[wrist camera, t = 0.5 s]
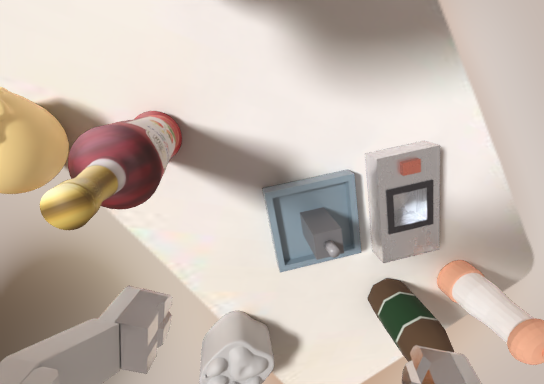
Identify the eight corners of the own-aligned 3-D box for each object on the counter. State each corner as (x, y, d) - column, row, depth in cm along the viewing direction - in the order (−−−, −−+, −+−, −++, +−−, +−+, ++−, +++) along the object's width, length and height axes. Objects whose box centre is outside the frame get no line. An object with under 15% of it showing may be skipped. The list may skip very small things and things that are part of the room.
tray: (262, 188, 49) (264, 193, 47) (348, 169, 50) (354, 173, 48) (277, 264, 54) (280, 272, 52) (355, 245, 55) (361, 252, 53)
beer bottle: (366, 314, 61) (451, 450, 38) (366, 280, 58) (458, 404, 36) (404, 307, 61) (510, 435, 39) (405, 273, 59) (520, 389, 36)
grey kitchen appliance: (364, 153, 50) (379, 160, 45) (424, 140, 51) (443, 146, 46) (372, 251, 56) (385, 265, 52) (425, 238, 57) (442, 251, 52)
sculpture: (14, 70, 39) (-57, 65, 29) (97, 139, 43) (59, 155, 33) (-42, 135, 41) (-128, 151, 31) (43, 196, 45) (-8, 228, 35)
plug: (299, 212, 50) (318, 243, 41) (323, 207, 51) (347, 236, 41) (303, 234, 52) (322, 269, 42) (326, 229, 52) (350, 262, 42)
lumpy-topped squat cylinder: (276, 330, 59) (284, 369, 51) (232, 376, 61) (234, 422, 53) (231, 304, 55) (233, 342, 47) (187, 354, 57) (181, 399, 49)
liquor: (120, 118, 43) (-38, 172, 17) (171, 101, 43) (95, 126, 17) (144, 168, 46) (39, 281, 19) (192, 151, 46) (154, 240, 20)
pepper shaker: (478, 270, 61) (585, 347, 43) (453, 298, 63) (546, 384, 45) (455, 253, 59) (557, 327, 41) (429, 282, 60) (517, 366, 42)
